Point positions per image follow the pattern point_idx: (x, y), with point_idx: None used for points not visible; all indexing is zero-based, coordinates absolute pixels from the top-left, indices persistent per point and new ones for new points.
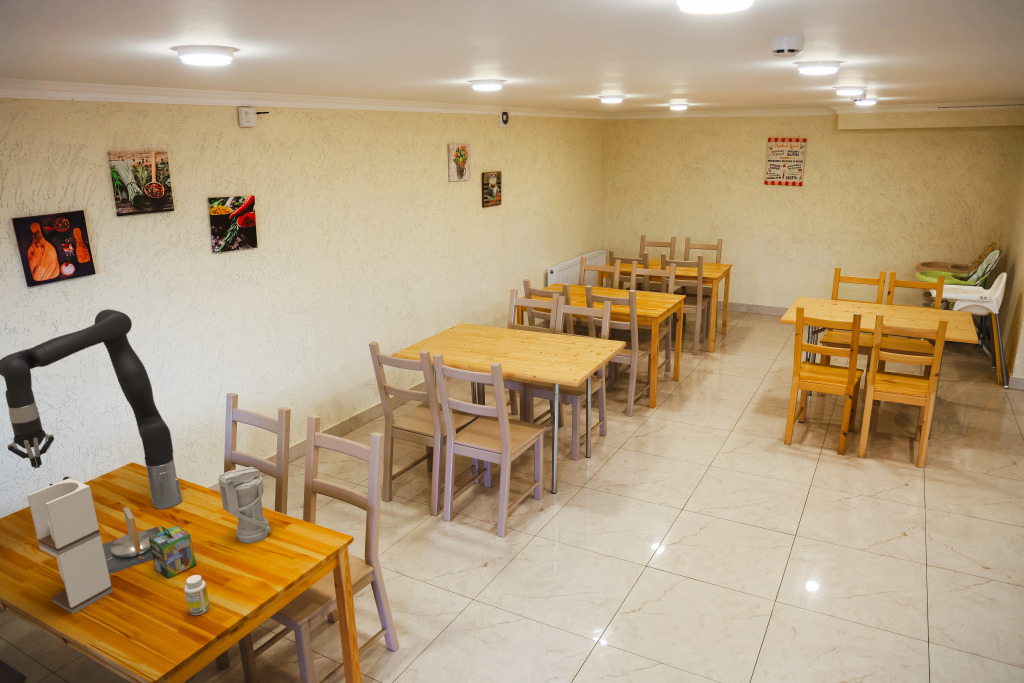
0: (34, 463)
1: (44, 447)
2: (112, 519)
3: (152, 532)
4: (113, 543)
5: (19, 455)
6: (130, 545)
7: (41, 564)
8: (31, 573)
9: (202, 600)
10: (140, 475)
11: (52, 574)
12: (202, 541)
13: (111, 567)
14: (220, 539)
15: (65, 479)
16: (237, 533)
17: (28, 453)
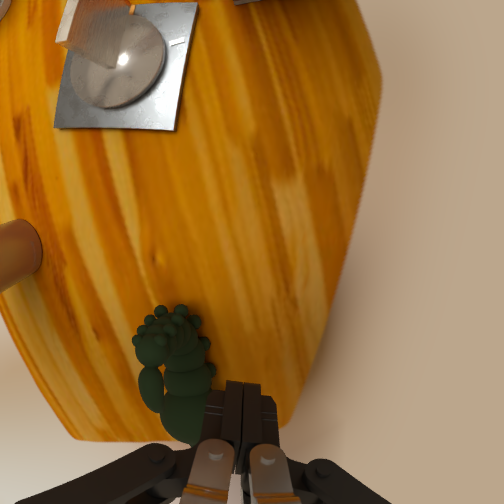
0: (255, 408)
1: (131, 487)
2: (116, 267)
3: (69, 105)
4: (146, 82)
5: (359, 487)
6: (123, 45)
7: (300, 167)
8: (328, 142)
9: None
10: (60, 402)
11: (293, 96)
12: (35, 28)
13: (188, 8)
14: (19, 20)
15: (155, 394)
16: (2, 2)
17: (286, 489)
